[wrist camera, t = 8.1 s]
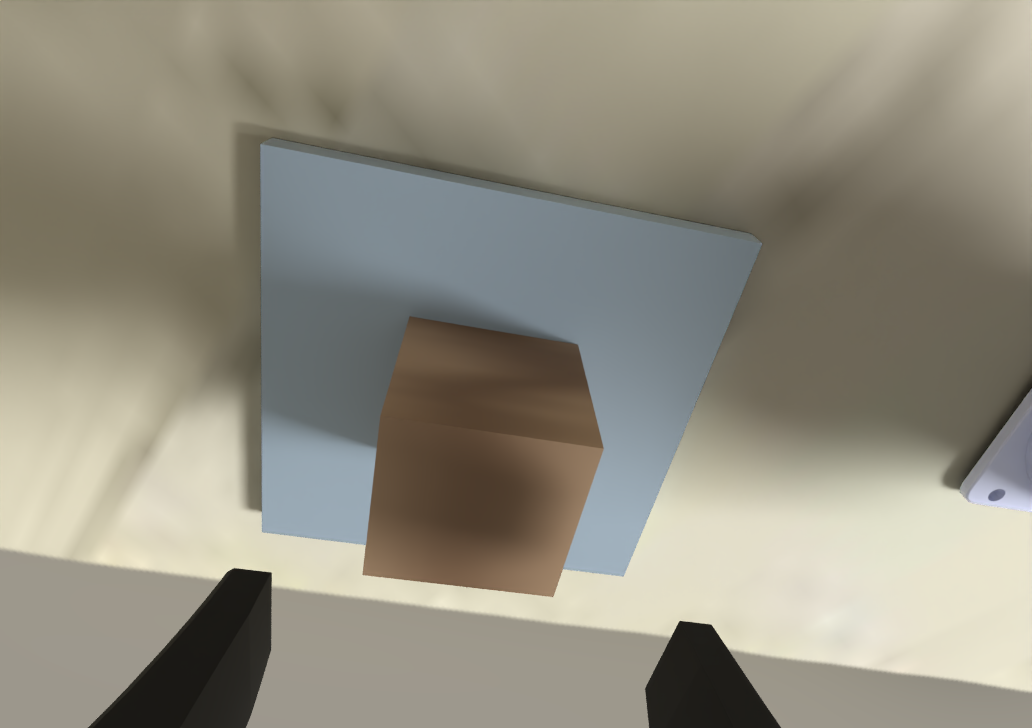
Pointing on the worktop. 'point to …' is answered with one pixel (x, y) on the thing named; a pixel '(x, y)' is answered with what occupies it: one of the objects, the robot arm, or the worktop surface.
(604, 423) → the slate board
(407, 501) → the walnut cube
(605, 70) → the worktop surface
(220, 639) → the robot arm
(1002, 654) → the worktop surface
